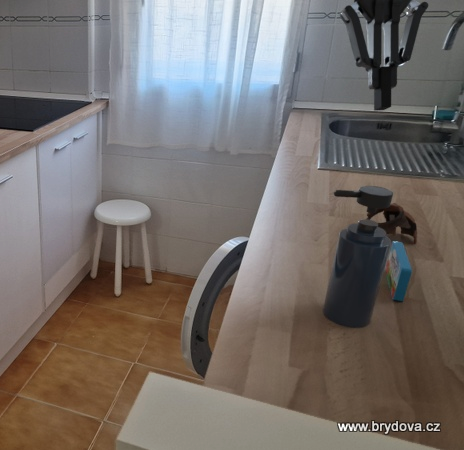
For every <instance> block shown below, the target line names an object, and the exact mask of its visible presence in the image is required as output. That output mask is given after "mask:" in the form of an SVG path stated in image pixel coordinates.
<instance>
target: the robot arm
mask: <svg viewBox="0 0 464 450" xmlns="http://www.w3.org/2000/svg"><path fill="white" fill-rule="evenodd" d="M428 8H429V3H428V1H422V2H419V1H418V0H353V3H351V4H350V5H346V6H345V7H344V8H343V9H342V10H341V11H340V12H339V18H340V19H341V21H342V22H343V23H344V24H345V27H346V31H347V35H348V39H349V43H350V48H351V51H352V55H353V59H354V63H355V66H356V67H357V68H364V70H365V71H366V72H367V73H368V83H367V85H368V89H369V90H373V111H385V110H388V109H389V108H392V89H394V88H395V87H397V85H398V67H401V66H403V65H404V64H406V63H407V62H409V61H410V60H411V59H412V54H413V51H414V47H415V44H416V39H417V35H418V31H419V27H420V24H421V21H422V16H423V15H424V14H425V12H426V11H427V9H428ZM406 9H407V11H406V15H407V16H408V17H407V18H406V21H405V24H404V28H403V31H402V35H401V40H400V22H401V15H402V14H403V13H404V11H405V10H406ZM359 14H360V15H361V16H362V17H363V18H364V19H365V25H366V26H365V30H366V31H367V34H366V36H367V40H366V39H365V35H364V31H363V27H362V23H361V20H360V19H361V18H360V16H359ZM382 30H383V31H382ZM382 32H383V34H382ZM382 39H383V41H382ZM366 41H367V42H366ZM382 43H383V46H382ZM382 47H383V48H382ZM382 49H383V66H381V65H382Z"/></svg>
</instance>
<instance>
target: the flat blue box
mask: <svg viewBox="0 0 464 450" xmlns="http://www.w3.org/2000/svg"><path fill="white" fill-rule="evenodd" d="M412 272H413V268H412V266H411V263H410V260H409V257H408V255H407V252H406V248H405V246H404V242H401V241H395V240H393V241H391V246H390V249H389V253H388V257H387V261H386V265H385V269H384V273H385V276H386V279H387V283H388V287H389V291H390V295H391V299H392V301H396V302H401V303H402V302H404V300H405V296H406V293H407V290H408V286H409V283H410V279H411V277H412V276H411V275H412Z"/></svg>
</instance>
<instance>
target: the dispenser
mask: <svg viewBox="0 0 464 450" xmlns="http://www.w3.org/2000/svg"><path fill="white" fill-rule="evenodd" d="M378 223H379V222H377V221H375V220H372V219H370V220H367V218H362V219H359V220H358V222H354V223H351V224H348V225H347V227H346V228H343V229H342V230H340V231H339V233H338V237H337V243H336V246H335V247H336V248H335V252H334V257H333V261H332V265H331V270H330V274H329V279H328V284H327V288H326V289H327V290H326V293H325V296H324V297H325V298H324V303H323V307H322V313H323V316H325V318H326V319H328V320H329V321H330V322H332V323H334V324H336V325H339V326H341V327H346V328H352V329H360V328H365V327H367V326H369V325H370V324H371V322H372V318H373V315H374V310H375V307H376V302H377V299H378V296H379V291H380V288H381V284H382V280H383V276H384V273H385V269H386V265H387V261H388V257H389V253H390V250H391V246H392V240H391V239H390V237H389V236H387V234H386V231H385V230H383V229H382V228H380V227H378Z"/></svg>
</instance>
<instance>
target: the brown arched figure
mask: <svg viewBox="0 0 464 450" xmlns="http://www.w3.org/2000/svg"><path fill="white" fill-rule="evenodd" d="M381 213H382V215H383V217H384V219H385V221H384V222H377V223H378V227H380V228H382V229H383V230H385V231H386V235H392V236H394V237H395V236H397V228H398V227H399V228H400V235H408V236H410V237H412V238H413V244H414V245H416V244H417V243H418V229H417V223H416V220H415V218H414V217H413V215H412V214H411V213H410V212H409V211H407V210H405V209H404V208H403V207H402V206H401V205H400V204H398V203H397V202H393V203H391V205H390V207H388V208H384V209H376V213H368V212H366V216H367V218H366V219H367V220H372V218H373V217H375V216H376V215H378V214H381Z"/></svg>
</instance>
